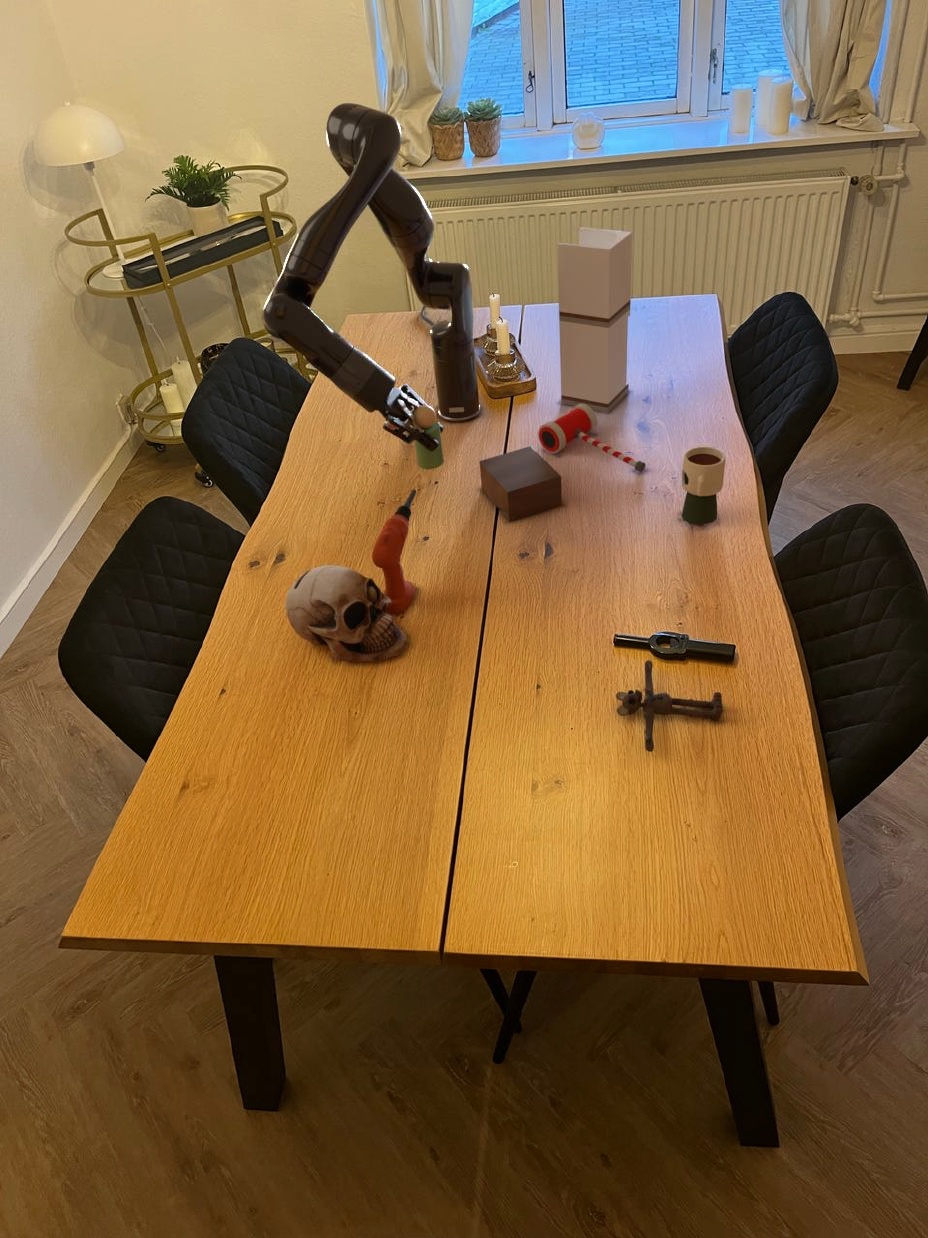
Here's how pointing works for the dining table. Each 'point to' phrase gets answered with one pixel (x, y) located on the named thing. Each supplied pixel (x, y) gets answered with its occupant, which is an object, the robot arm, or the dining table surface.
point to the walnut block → (521, 483)
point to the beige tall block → (594, 317)
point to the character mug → (702, 483)
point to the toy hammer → (578, 434)
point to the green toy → (431, 426)
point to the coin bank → (344, 614)
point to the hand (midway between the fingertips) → (438, 439)
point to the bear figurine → (664, 705)
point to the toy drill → (395, 557)
